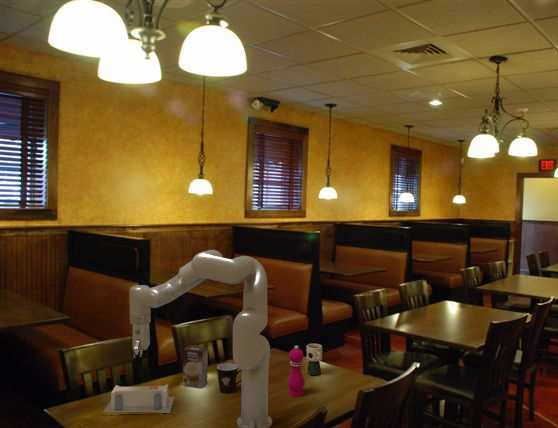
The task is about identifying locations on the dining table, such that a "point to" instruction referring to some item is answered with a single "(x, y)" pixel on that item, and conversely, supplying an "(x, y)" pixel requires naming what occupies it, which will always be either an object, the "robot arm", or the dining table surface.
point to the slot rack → (141, 408)
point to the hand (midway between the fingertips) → (140, 363)
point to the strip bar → (139, 395)
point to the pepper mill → (296, 373)
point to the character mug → (314, 358)
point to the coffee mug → (227, 377)
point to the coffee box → (195, 366)
